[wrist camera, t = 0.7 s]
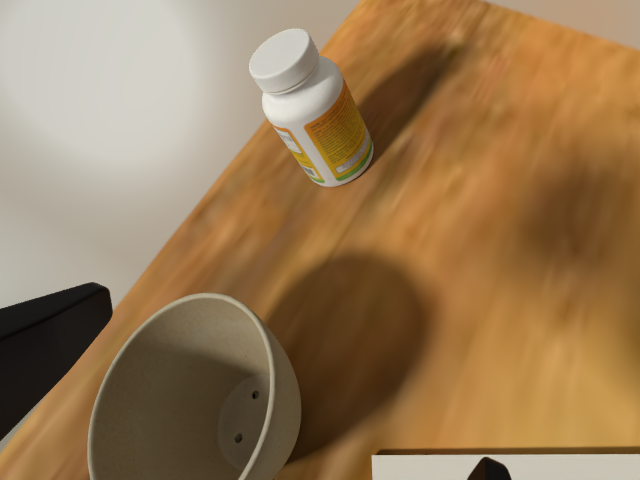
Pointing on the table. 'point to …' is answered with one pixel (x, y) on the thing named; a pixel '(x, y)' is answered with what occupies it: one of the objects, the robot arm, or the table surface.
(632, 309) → the table surface
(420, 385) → the table surface
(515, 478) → the lid
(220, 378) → the flower pot
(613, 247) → the table surface
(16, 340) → the robot arm
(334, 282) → the table surface
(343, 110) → the supplement bottle
